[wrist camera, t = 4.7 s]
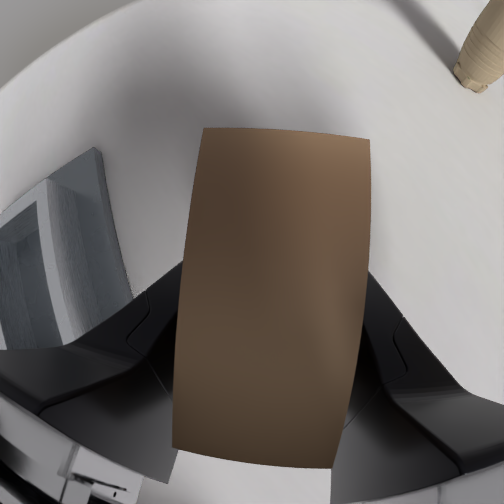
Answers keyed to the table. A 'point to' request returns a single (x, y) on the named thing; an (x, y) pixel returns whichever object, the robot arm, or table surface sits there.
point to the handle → (483, 49)
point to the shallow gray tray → (60, 259)
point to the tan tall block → (271, 296)
